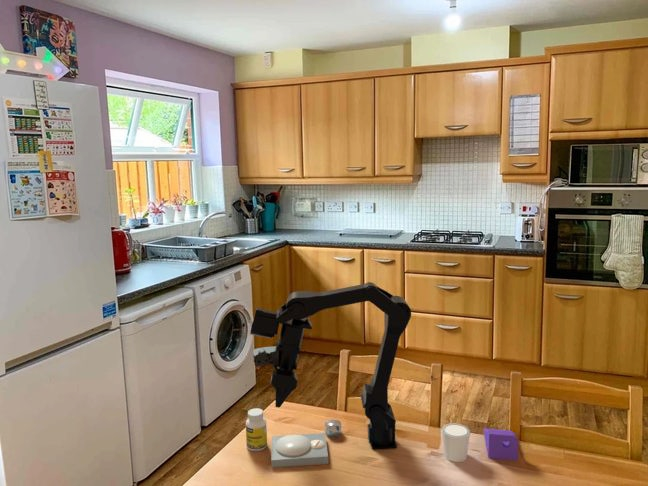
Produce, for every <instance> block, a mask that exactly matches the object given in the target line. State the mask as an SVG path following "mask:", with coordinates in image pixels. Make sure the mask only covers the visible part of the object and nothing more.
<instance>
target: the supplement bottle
mask: <svg viewBox="0 0 648 486" xmlns="http://www.w3.org/2000/svg"><path fill="white" fill-rule="evenodd" d="M267 431H268V429H267V419H266V418H265V417H264V411H263V409H261V408H259V407H258V408H257V407H256V408H251V409H249V410H248V411H247V419H246V421H245V437H246V439H245V440H246V447H247V449H248V450H249V451H252V452H259V451H260V452H261V451H262V450H264V449H266V448H267V445H268V432H267Z"/></svg>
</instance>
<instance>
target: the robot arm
mask: <svg viewBox="0 0 648 486" xmlns="http://www.w3.org/2000/svg"><path fill="white" fill-rule="evenodd" d="M365 302H370V303H371V304H373V306H375V307H376V308H378V309H379V310H380V311H381V312H383V313H384V314H383V317H384V318H383V319H384V321H383V322H384V323H383V324H384V329H383V330H384V331H383V334H382V335H383V336H382V339H381V342H380V347H379V350H378V351H379V352H378V355H377V360H376V363H375V367H374V368H375V369H374V373H373V375H372V380H371V381H370V383H369V384H368V383H365V382H364V383H363V390H362V393H361V394H360V398H361V399H360V401H361V405H362V409H363V410H364V414H365V416H366V418H367V419H368V420H369V423H368V424H367V441H368V443H369V444H370V446H371V449H372V450H381V449H382V450H383V449H396V448H397V447H398V444H397V443H396V424H397V423H396V422H397V421H396V417H395V415H394V411H393V408H392V405H391V404H390V403H389V397H388V395H389V394H388V393H389V391H388V390H389V389H388V386H389V383H390V379H391V375H392V371H393V366H394V363H395V359H396V355H397V350H398V346H399V342H400V338H401V336H402V335H403V333H404V331H405V330H406V329H407V327H408V324H409V323H410V320H411V317H412V310H411V307H410V306H409V304H408V303H407V301H406V299H405V298H404V297H402V296H401V295H393V294H391V293H390V292H388V291H387V290H385V289H383V288H381V287H379V286H378V285H377V284H376V283H374V282H370V281H369V282H364V284H363V283H362V284H358V285H352V286H345V287H342V288H337V289H331V290H325V291H317V292H316V291H309V290H304V291H301V290H300V291H293V292H292V293H290V294H289V295H288V297H287V299H286V302H285V303H284V304H282V305H281V306H280V307H279V308H278V309H277V311H273V310H267V309H263V308H262V307H256V309H255V313H254V317H253V320H252V323H251V327H250V331H249V332H250V335H252V336H258V337H262V338H268V339H273V338H275V336H277V335H278V332H279V327H280V324H281V328H280V332H279V336H278V337H279V338H278V340H277V341H276V344H275V345H274V346H273V345H272V346H264V347H257V348H254V349H253V354H252V357H253V362H254V366H255V367H257V368H259V367H261V366H264V365H265V366H266V365H272V367H273V368H274V370H273V371H272V372H271V378H270V385H271V387H273V388H274V390H275V408H280V407H281V406H282V405H283V404H284V402H285V401H286V400H287V398H288V397H289V396H290V395H291V394H292V392H293V391H295V390H296V389H297V386H298V375H297V374H296V372H295V371H296V370H297V368H298V360H299V356H300V354H301V345H302V340H303V337H304V331H305V329H306V330H312V329H313V323H312V322H311V320H310V319H309V317H312V316H313V315H316V314H317V313H319V312H321V311H324V310H328V309H333V308H339V307H345V306H348V305H349V306H350V305H355V304H361V303H365ZM294 370H295V371H294Z"/></svg>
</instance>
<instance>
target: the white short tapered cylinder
mask: <svg viewBox="0 0 648 486" xmlns="http://www.w3.org/2000/svg"><path fill="white" fill-rule="evenodd" d="M441 434H442V435H441V436H442V437H441V438H442V445H443V447H442V448H443V456H444V458H445V459H446V460H448V461H449V462H452V463H453V462H454V463H461V462H464V461H466V460H467V458H468V451H469V443H470V435H471V432H470V429H469V428H468V427H467V426H466V425H464V424H460V423H454V422H452V423H447V424H444V425H443V426H442V427H441Z"/></svg>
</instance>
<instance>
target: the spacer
mask: <svg viewBox="0 0 648 486" xmlns="http://www.w3.org/2000/svg"><path fill="white" fill-rule="evenodd" d="M324 433H325V437H326V438H330V439H333V438H339V437H340V436H341V435H342V422H341V421H340V420H338V419H333V418H332V419H329V420H326V421H325V422H324Z"/></svg>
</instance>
